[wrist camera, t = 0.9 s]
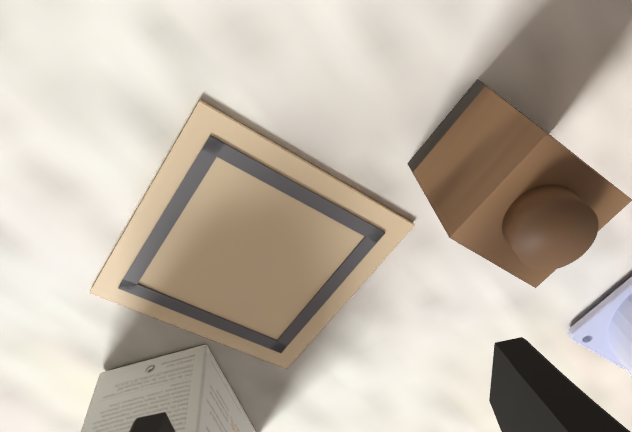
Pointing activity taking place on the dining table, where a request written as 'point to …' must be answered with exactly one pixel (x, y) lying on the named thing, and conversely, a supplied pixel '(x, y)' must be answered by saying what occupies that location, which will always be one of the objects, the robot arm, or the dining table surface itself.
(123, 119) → the dining table surface
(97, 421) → the small box
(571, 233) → the stamp
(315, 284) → the card sheet
